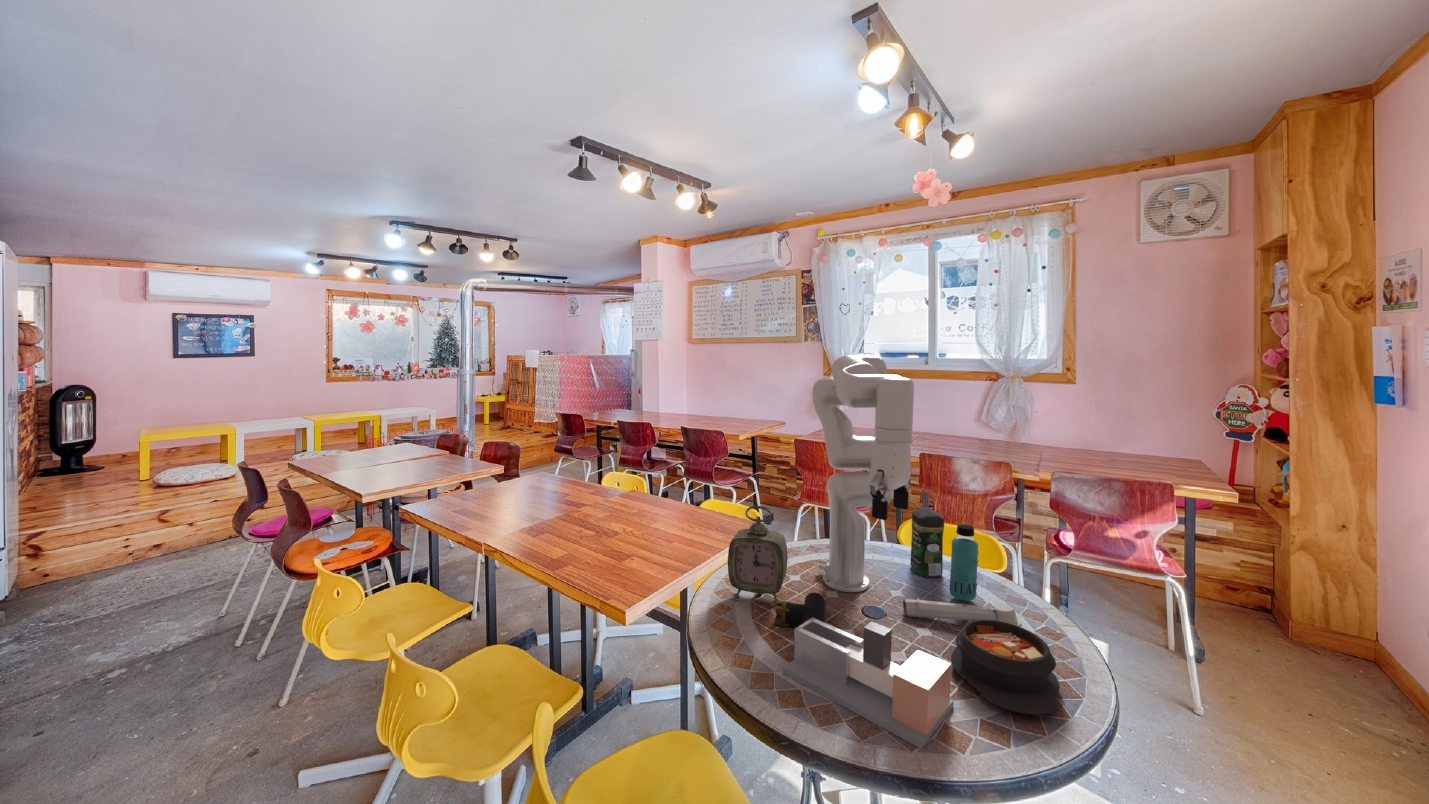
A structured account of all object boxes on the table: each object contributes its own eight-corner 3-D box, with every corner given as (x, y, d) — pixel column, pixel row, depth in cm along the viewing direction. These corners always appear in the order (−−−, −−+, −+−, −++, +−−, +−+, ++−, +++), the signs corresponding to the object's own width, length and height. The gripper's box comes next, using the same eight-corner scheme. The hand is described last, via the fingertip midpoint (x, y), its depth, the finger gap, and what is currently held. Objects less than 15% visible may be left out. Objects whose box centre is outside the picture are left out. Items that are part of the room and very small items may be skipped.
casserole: (938, 639, 114) (939, 603, 113) (1029, 648, 110) (1031, 612, 109) (969, 716, 89) (971, 671, 88) (1088, 732, 85) (1091, 686, 85)
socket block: (891, 717, 87) (893, 673, 87) (916, 690, 94) (917, 649, 94) (926, 735, 83) (928, 690, 82) (949, 705, 90) (951, 663, 89)
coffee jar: (906, 564, 154) (908, 505, 152) (932, 564, 153) (934, 505, 152) (918, 578, 144) (920, 515, 142) (946, 578, 144) (948, 515, 142)
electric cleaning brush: (903, 594, 127) (1017, 599, 117) (906, 620, 127) (1020, 627, 117) (902, 604, 122) (1021, 609, 112) (905, 630, 122) (1024, 638, 112)
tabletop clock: (727, 602, 131) (727, 508, 129) (736, 586, 140) (736, 498, 137) (783, 609, 127) (783, 513, 124) (788, 593, 135) (789, 502, 133)
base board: (783, 673, 101) (783, 667, 101) (821, 644, 111) (821, 639, 111) (921, 749, 82) (921, 742, 82) (953, 706, 92) (953, 700, 92)
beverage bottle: (949, 604, 129) (952, 528, 127) (947, 592, 135) (950, 520, 134) (977, 608, 127) (981, 531, 125) (975, 597, 133) (978, 523, 131)
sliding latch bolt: (839, 672, 98) (841, 619, 97) (850, 662, 101) (851, 611, 100) (922, 712, 86) (924, 654, 85) (931, 701, 89) (933, 644, 88)
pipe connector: (772, 617, 113) (779, 587, 128) (772, 639, 114) (778, 607, 128) (825, 624, 111) (825, 593, 125) (824, 647, 111) (824, 613, 126)
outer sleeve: (794, 659, 104) (794, 629, 103) (811, 646, 109) (812, 617, 108) (845, 686, 96) (846, 653, 95) (862, 671, 100) (863, 639, 100)
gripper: (895, 428, 116) (892, 500, 118) (856, 438, 104) (854, 518, 106) (927, 432, 111) (924, 507, 112) (890, 443, 98) (887, 527, 100)
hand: (890, 513), depth 109 cm, fingers open, 9 cm apart
